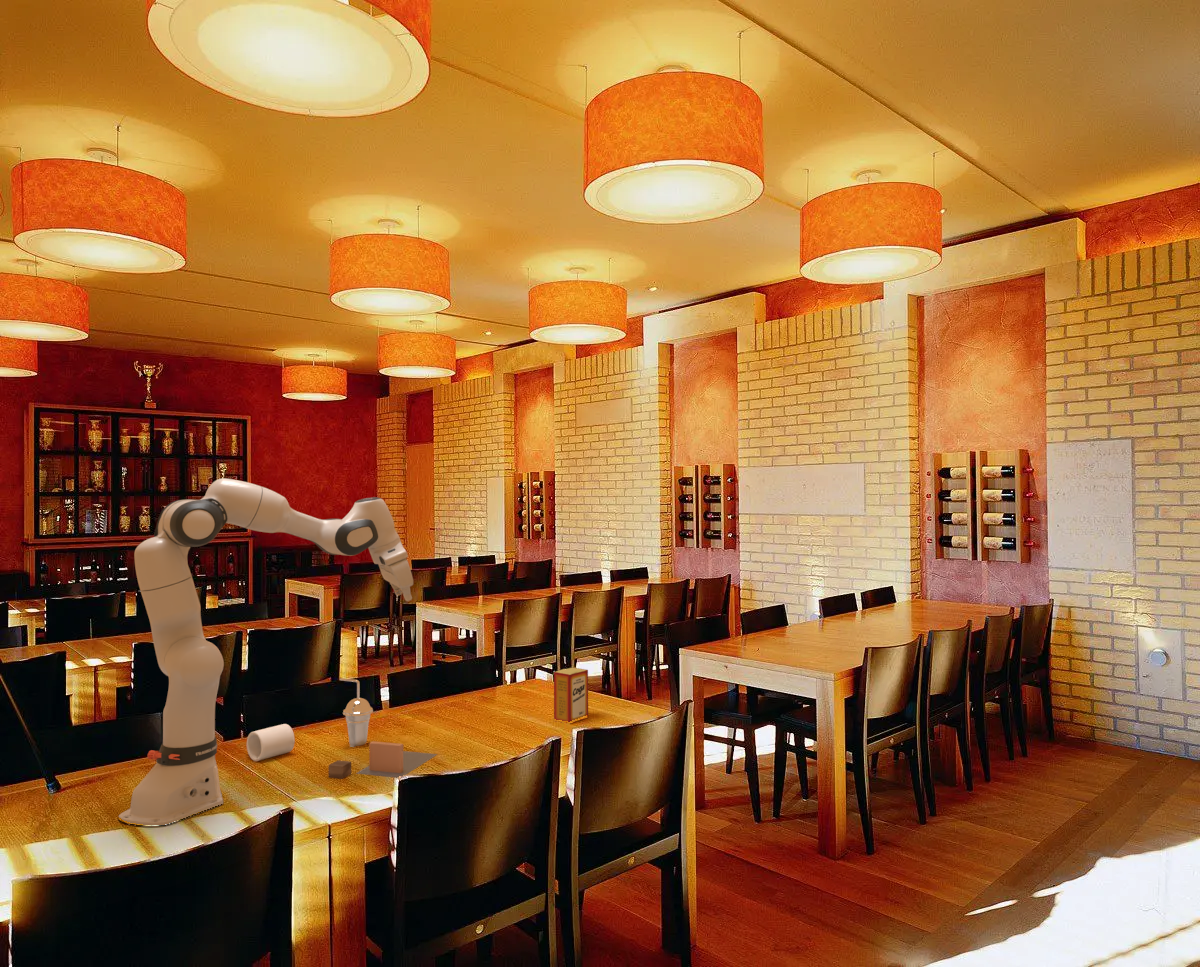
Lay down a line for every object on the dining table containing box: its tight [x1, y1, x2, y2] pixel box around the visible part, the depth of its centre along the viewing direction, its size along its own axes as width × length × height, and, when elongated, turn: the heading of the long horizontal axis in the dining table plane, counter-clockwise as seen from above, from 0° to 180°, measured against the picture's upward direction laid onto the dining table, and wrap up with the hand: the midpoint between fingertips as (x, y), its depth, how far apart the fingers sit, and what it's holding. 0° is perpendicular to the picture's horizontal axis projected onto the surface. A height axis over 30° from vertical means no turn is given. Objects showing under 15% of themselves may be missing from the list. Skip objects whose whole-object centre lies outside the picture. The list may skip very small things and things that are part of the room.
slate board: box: [355, 750, 438, 779], centre depth 218 cm, size 20×13×1 cm, turn 164°
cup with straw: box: [339, 677, 374, 748], centre depth 237 cm, size 8×9×20 cm
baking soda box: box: [553, 666, 589, 722], centre depth 265 cm, size 10×6×16 cm
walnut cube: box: [328, 760, 352, 780], centre depth 209 cm, size 4×4×4 cm
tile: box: [368, 740, 404, 773], centre depth 213 cm, size 2×9×7 cm, turn 74°
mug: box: [246, 723, 296, 762], centre depth 229 cm, size 12×10×8 cm
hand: (404, 597), depth 228 cm, fingers open, 8 cm apart
